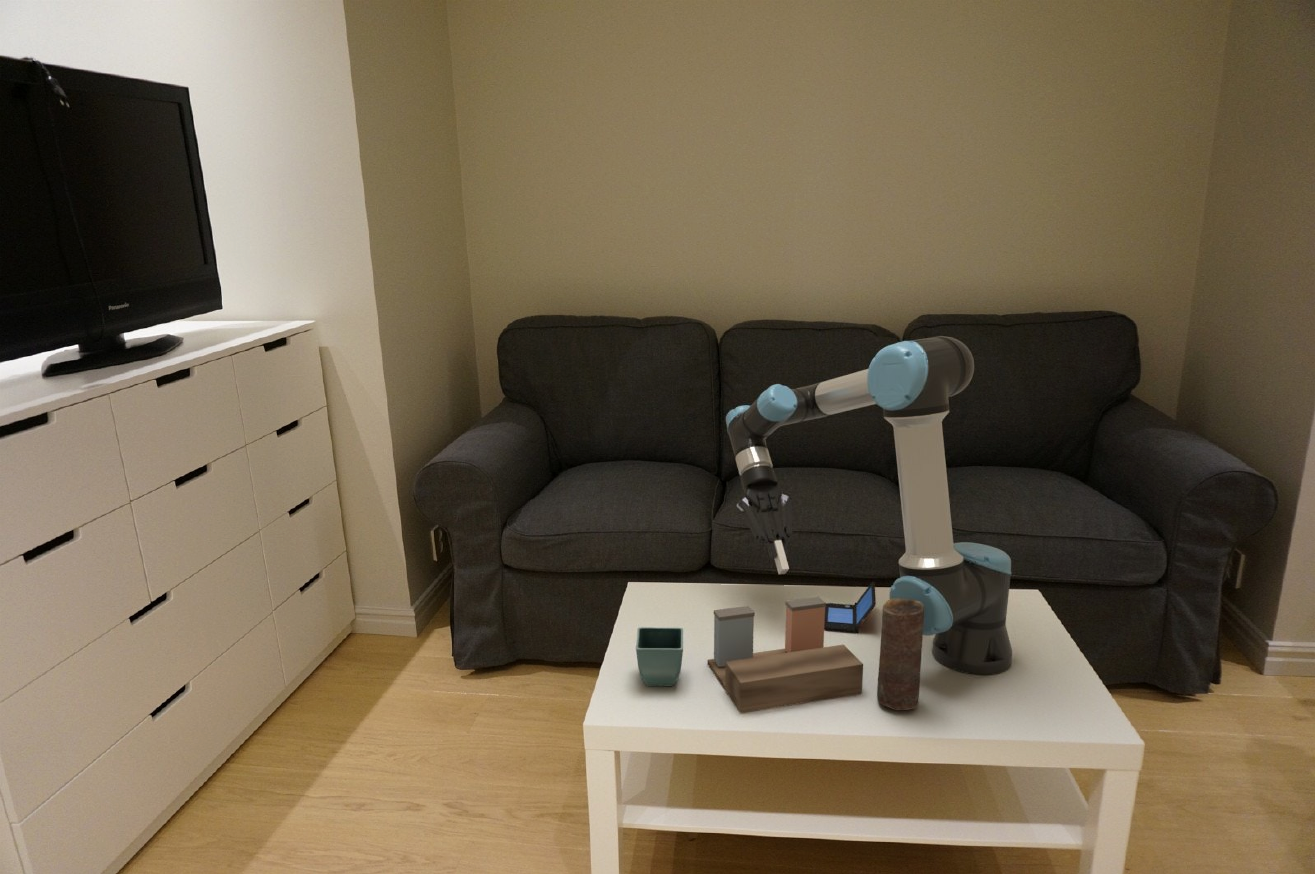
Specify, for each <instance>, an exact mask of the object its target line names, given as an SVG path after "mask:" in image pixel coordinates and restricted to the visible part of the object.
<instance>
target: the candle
mask: <svg viewBox="0 0 1315 874" xmlns="http://www.w3.org/2000/svg"><path fill="white" fill-rule="evenodd" d="M924 611H925V607H924V605H923V603H922V602H919V601H916V600H911V599H904V600H902V599H899V598H897V599H896V598H894V599H890V598H889V599H887V601H885V602H884V604H883V606H882V612H881V613H882V615H881V618H882V619H881V629H880V630H881V631H880V633H881V634H880V648H879V649H880V650H879V659H878V663H879V664H878V671H877V672H878V673H877V674H878V677H877V688H876V699H877V701H878V702H879V704H880V705H884V706H886V707H888V708H890V709H893V710H895V711H901V710H902V711H904V710H912V709H913V710H914V709H916V708H917V707H918V706H919V699H920V687H921V685H920V683H921V669H922V668H921V667H922V653H923V651H922V650H923V648H922V647H923V640H924V639H923V637H924V635H923V624H924Z"/></svg>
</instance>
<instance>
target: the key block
mask: <svg viewBox="0 0 1315 874" xmlns="http://www.w3.org/2000/svg"><path fill="white" fill-rule="evenodd" d="M708 665H709V666H708ZM707 666H708V667H709V669H710V670H711V673H713V674H715V675H714V676H715V677H716V679H717V680H718V682H719V683H720V685H721V687H722V688H723V690H724V691H725V692H726V694H727V696H728V697H729V698H731V699H730V700H731V702H732V703H733V705H734V706H735V708H736V707H737V708H736V709H737V710H738V713H740V714H744V713H749V711H750V712H755V711H761V710H767V709H773V708H779V707H785V706H791V705H798V704H805V703H810V702H819V701H823V700H828V699H830V700H831V699H835V698H843V697H849V696H853V695H854V696H855V695H860V694H861V693H862V694H863V680H864V679H863V678H864V677H863V676H864V663H863V662H862V661H861V660H860V659H859V658H858V657H857V656H856V655H855V654H854V653H853V652H852V651H851V650H850V649H849V648H848V647H846V645H845V644H837V645H831V646H824V647H823V648H816V649H809V650H803V651H796V652H789V653H787V652H786V650H785V648H779V649H773V650H765V651H759V652H758V651H756V652H753V658H748V659H741V660H734V661H727V662H726V666H724V667H719V666H718V665H717V664H716V662H715V661H714V658H711V659H707Z"/></svg>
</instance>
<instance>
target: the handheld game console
mask: <svg viewBox="0 0 1315 874" xmlns="http://www.w3.org/2000/svg"><path fill="white" fill-rule="evenodd" d="M876 602H877V600H876V583H875V581H871V583H870V584H869V585H868V586H867V588H866V590H865V591H864V592H863V593H862V595H861V596H860V597H859V599H858V600H857V602H854V603H853V604H845V603H831V602H828V603H827V602H825V603H826V607H825V622H824V632H833V633H846V634H855V635H857V634H859V628H860V627H861V626H862V624H863V623H864V622H865V621H866V619H867V618H868V616H870V614H871V613H872V611H873V610H874V609H875V607H876V605H877V603H876Z"/></svg>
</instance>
